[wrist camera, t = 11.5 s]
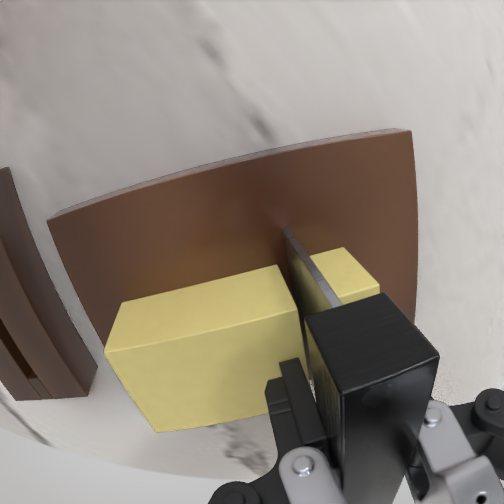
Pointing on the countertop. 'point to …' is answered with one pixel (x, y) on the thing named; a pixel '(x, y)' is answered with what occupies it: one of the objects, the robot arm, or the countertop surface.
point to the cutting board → (248, 222)
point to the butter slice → (345, 275)
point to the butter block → (206, 349)
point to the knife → (362, 380)
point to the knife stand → (34, 317)
